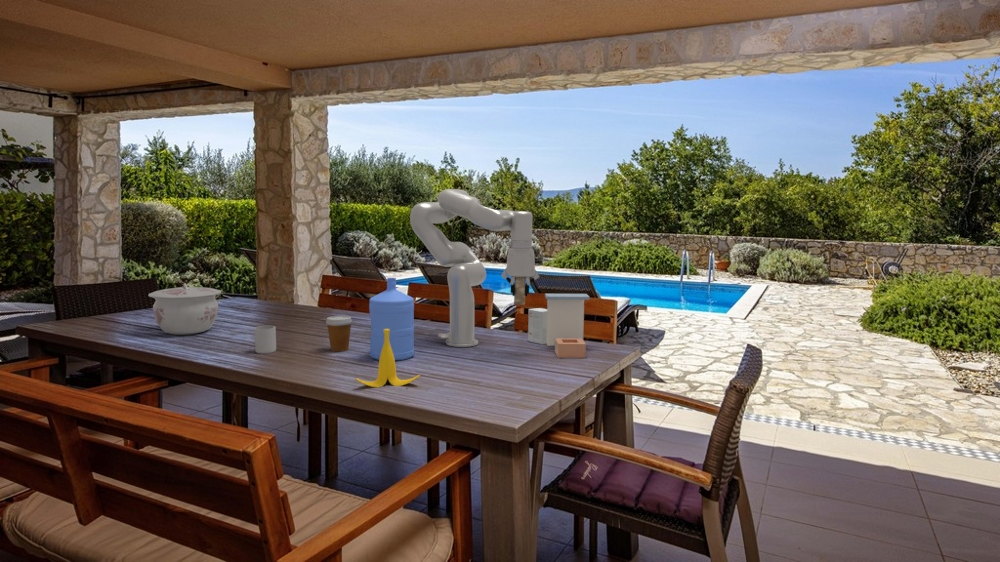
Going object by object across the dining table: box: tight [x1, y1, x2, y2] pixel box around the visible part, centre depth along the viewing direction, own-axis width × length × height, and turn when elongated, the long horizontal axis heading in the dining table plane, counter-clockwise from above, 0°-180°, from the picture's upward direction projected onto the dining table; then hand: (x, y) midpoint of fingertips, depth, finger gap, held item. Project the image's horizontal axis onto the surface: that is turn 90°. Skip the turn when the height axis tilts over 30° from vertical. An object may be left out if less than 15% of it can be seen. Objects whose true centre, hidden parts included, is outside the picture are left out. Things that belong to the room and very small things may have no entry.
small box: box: [527, 307, 547, 345], centre depth 253 cm, size 8×6×13 cm
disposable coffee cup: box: [325, 315, 353, 352], centre depth 235 cm, size 10×10×12 cm
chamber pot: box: [148, 282, 222, 336], centre depth 266 cm, size 28×28×21 cm
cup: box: [254, 325, 277, 355], centre depth 233 cm, size 7×10×9 cm
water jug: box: [368, 277, 415, 362], centre depth 225 cm, size 16×16×28 cm
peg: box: [513, 277, 526, 306], centre depth 232 cm, size 4×4×12 cm
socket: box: [554, 338, 587, 359], centre depth 231 cm, size 10×10×5 cm
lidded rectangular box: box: [544, 293, 591, 347], centre depth 242 cm, size 16×8×20 cm, turn 91°
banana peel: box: [355, 329, 421, 388], centre depth 191 cm, size 16×19×17 cm
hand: (519, 295), depth 232 cm, fingers closed on peg, 4 cm apart
